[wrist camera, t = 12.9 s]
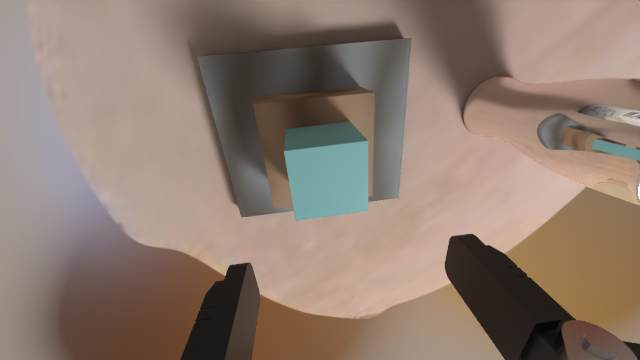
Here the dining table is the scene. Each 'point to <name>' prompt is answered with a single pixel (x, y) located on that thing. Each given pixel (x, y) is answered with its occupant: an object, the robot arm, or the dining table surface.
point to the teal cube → (327, 170)
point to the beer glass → (567, 127)
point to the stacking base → (304, 75)
